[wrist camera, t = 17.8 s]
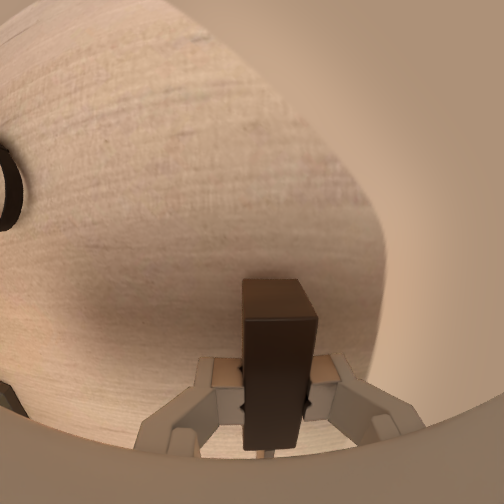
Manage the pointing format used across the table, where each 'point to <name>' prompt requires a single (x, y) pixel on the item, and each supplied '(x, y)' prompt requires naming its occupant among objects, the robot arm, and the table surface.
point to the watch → (10, 191)
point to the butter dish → (10, 400)
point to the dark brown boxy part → (275, 362)
